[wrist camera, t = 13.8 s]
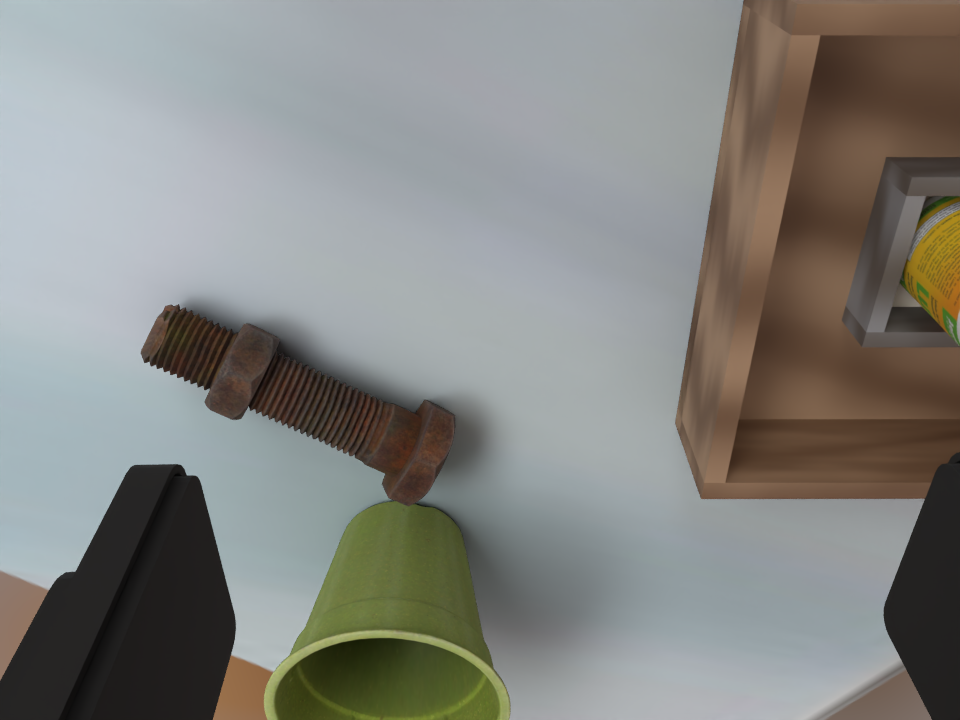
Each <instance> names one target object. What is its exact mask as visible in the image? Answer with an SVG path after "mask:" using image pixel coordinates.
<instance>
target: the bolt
mask: <svg viewBox="0 0 960 720" xmlns="http://www.w3.org/2000/svg"><path fill="white" fill-rule="evenodd" d="M279 342H280V339H279V338H278V337H276V336H274V335H272V334H270V333H268V332H266V331H264V330H262V329H260V328H258V327H255V326H253V325H251V324H247V323H246V324H244V325H243V326H242V328H241V330H240V332H239V333H238V332H237V333H236V334H234V335H233V332H232V329H231V330H229V331H227V330H226V327H223V328H220V326H219V323H218V324H217V325H215V326H214V324H213V321H212V320H211V321H209V322H207V319H206V317H204V318H203V319H201V318H200V316H199V314H197V315H195V316H194V315H193V312H192V311H190V312H188V313H187V311H186V307H185V308H183V309H181V310H180V306H179V304H178V305H176V306H173V305H168V306H165V308H164V310H163V312H162V313H161V314H160V315H159V316H158V317H157V319H156V321H155V323H154V325H153V327H152V329H151V331H150V333H149V335H148V338H147V340H146V342H145V344H144V346H143V348H142V350H141V355H142V358H143V360H144V363H147V362H149V361H150V365H151V366H154V365H156V367H157V369H159V368H162V367H163V370H164V372H167V371H169V370H170V375H173V374H177V378H180V377H183V376H184V381H187V380H190V382H191V384H193V383H197V386H198V387H200V386H204V390H207V389H209V388H210V391H209V393H208V395H207V398H206V400H205V404H206V406H207V407H208V408H209V409H210V410H211V411H214V412H216V413H218V414H220V415H223V416H225V417H227V418H230V419H232V420H238V419H241V418H242V417H243V415H244V413H245V411H246V410H247V408H248V406H249V408H250V411H251V410H253V409H255V410H256V414H257V413H259V412H261V411H262V415H263V416H266V415H268V417H269V420H270V419H272V418H275V422H276V423H277V422H278V421H280V420H281V423H282V425H284V424H286V423H287V425H288V428H291V427H292V426H294V431H297V430H298V429H300V433H301V434H303V433H304V432H306V434H307V437H309V436H310V435H312V437H313V439H316V438H317V437H318V438H319V441H320V442H322V441H323V440H325V444H326V445H328V444H329V443H331V447H332V448H334V447H335V446H336V445H337V450H338V451H339V450H341V449H343V453H345V454H346V453H347V452H348V451H349V456H353V455H354V454H355V458H356V459H359V460H361V461H362V462H363V463H364V464H365V465H367V466H370V467H372V468H374V469H376V470H378V471H381V472H383V473H385V476H384V479H383V482H382V485H383V487H384V489H385V492H386V494H387V496H388V497H389V498H390V499H392V500H394V501H397V502H399V503H401V504H403V505H406V506H408V507H409V506H411V505H413V504H414V503H416V502H418V501H419V500H420V499H421V498H423V497H424V496H425V495H426V494H427V493H428V491H429V490H430V488H431V486H432V485H433V483H434V481H435V479H436V477H437V476H438V474H439V472H440V470H441V468H442V466H443V464H444V462H445V460H446V457H447V455H448V453H449V451H450V448H451V446H452V442H453V437H454V431H455V415H454V414H452V413H451V412H449V411H447V410H446V409H444V408H442V407H440V406H438V405H436V404H433V403H431V402H429V401H427V400H424V401H423V403H422V404H421V406H420V407H419V409H418V410H417V412H416V413H412V412H410V411H408V410H406V409H404V408H401V407H399V406H397V405H395V404H388V403H386V402H382V400H381V399H379V400H376V397H371V398H370V395H369V394H366V395H364V392H363V391H361V392H359V393H358V389H357V388H356V389H354V390H352V386H348V387H346V383H342V384H340V381H339V380H336V381H334V379H333V377H330V378H328V377H327V374H324V375H323V376H322V375H321V371H318V372H316V373H315V369H314V368H312V369H310V370H309V366H308V365H306V366H304V367H303V365H302V362H300V363H298V364H297V363H296V359H295V360H293V361H290V357H286V358H284V355H283V353H282V354H280V355H278V354H277V350H276V349H277V347H278V345H279Z"/></svg>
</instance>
